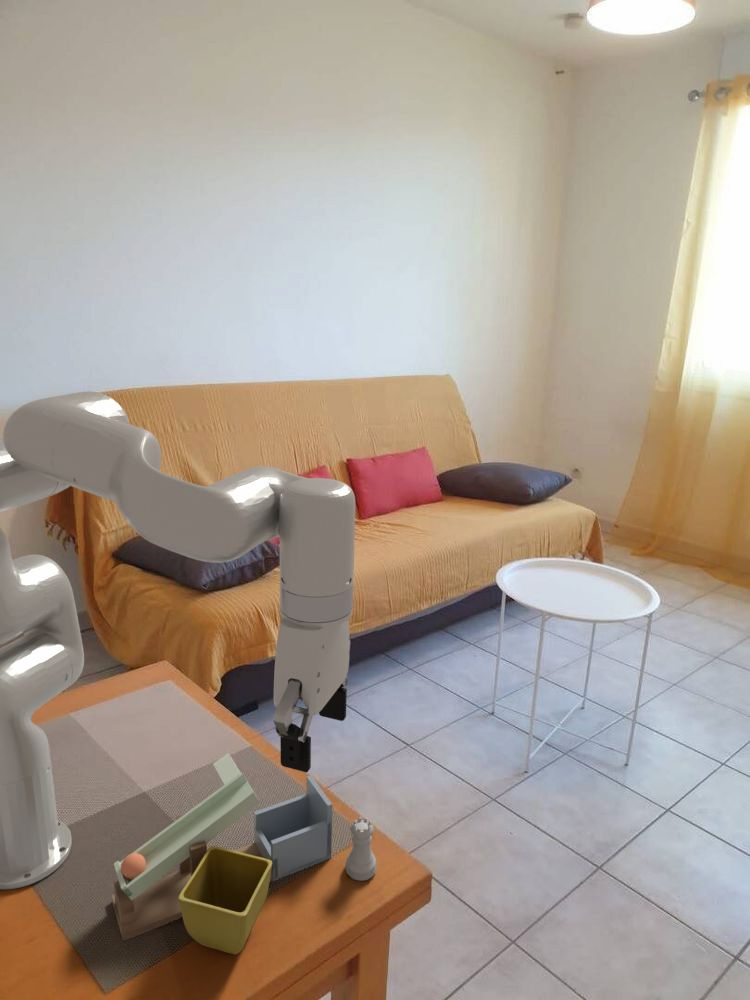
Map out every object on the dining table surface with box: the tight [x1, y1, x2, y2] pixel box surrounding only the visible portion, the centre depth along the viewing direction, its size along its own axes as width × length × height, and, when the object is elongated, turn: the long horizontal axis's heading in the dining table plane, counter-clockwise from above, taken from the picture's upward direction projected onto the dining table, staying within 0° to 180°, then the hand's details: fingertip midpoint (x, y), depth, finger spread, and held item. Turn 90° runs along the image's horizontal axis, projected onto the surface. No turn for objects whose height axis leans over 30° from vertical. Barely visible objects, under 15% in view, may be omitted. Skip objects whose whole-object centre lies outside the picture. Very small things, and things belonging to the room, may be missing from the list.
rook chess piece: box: [345, 816, 378, 882], centre depth 100 cm, size 4×4×8 cm
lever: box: [113, 752, 261, 901], centre depth 97 cm, size 11×19×3 cm, turn 120°
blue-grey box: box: [253, 775, 333, 882], centre depth 103 cm, size 7×9×9 cm
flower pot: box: [178, 845, 272, 955], centre depth 89 cm, size 9×9×9 cm
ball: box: [121, 852, 146, 880], centre depth 91 cm, size 3×3×3 cm
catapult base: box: [111, 813, 274, 942], centre depth 96 cm, size 7×20×10 cm, turn 120°
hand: (315, 741), depth 79 cm, fingers open, 9 cm apart
